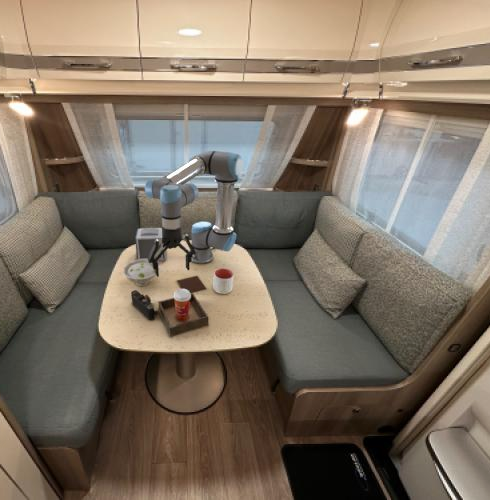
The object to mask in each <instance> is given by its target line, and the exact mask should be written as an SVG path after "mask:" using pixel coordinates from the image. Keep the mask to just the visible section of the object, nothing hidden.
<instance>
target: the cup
mask: <svg viewBox="0 0 490 500" xmlns="http://www.w3.org/2000/svg"><path fill="white" fill-rule="evenodd" d="M234 277H235V275H234V272H233V270H231V269H229V268H225V267H222V268H221V267H220V268H217V269H215V270H214V271H213V281H212V289H213V290H214V292H216V293H218V294H222V295H226V294H229V293H231V292H232V290H233V286H234V285H233V284H234Z"/></svg>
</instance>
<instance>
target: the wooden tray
mask: <svg viewBox="0 0 490 500" xmlns="http://www.w3.org/2000/svg"><path fill="white" fill-rule="evenodd" d="M190 294H191V298H190V304H191V303H192V305H193V306H194V308H195V310H196V312H197V313H198V314H199V316H200V317H199V318H194V319H191V320H188V321H183V322H181V323H178V324H175V325H172V324H171V323H170V320H169V318H168V316H167V314H166V312H165V310H167V309H171V308H175V300H174V297H171V298H168V299H164V300H159V301H157V305H158V313H159V314H160V317H161V318H162V321H163V323H164V325H165V329H166V330H167V333H168V334H169V337H173V336H177V335H181V334H183V333H187V332H190V331H193V330H197V329H201V328H203V327H207V326H209V316H208V314H207V313H206V311H205V310H204V308H203V306H202V305H201V303H200V302H199V300H198V299H197V297H196V295H195V294H194V292H191V293H190Z"/></svg>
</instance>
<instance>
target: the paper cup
mask: <svg viewBox="0 0 490 500" xmlns="http://www.w3.org/2000/svg"><path fill="white" fill-rule="evenodd" d="M172 298H174V300H175V307H174V308H175V309H174V310H175V317H176V320H177V321H178V322H187V320H188V319H189V315H190V305H191V303H190V298H191V293H190V292H189V291H188V290H187V289H182V288H179V289H176V291H175V290H174V293H173V297H172Z"/></svg>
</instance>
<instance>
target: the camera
mask: <svg viewBox="0 0 490 500" xmlns="http://www.w3.org/2000/svg"><path fill="white" fill-rule="evenodd" d="M130 297H131V302H132V303H131V305H133V307H134V308H136V310H138V311H139V312H140V313H141V314H142V315H143V316H144V317H145V318H146V319H147V320H149V321H154V320H155V319H156V316H158V315H159V310H155V305H154V304H153V303H152V299H151V296H150V295H148V294H145V295H144V294H143V293H141V292H139V291H138V290H137V289H134V290H132V291H131V292H130Z"/></svg>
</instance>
